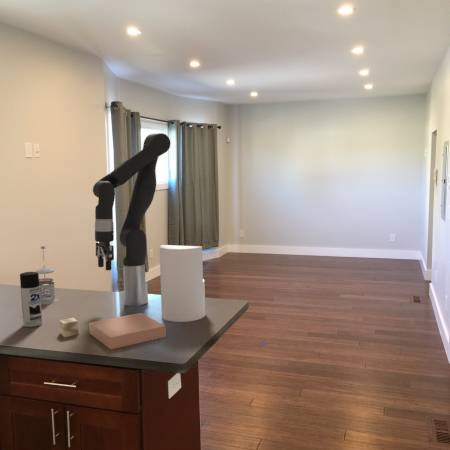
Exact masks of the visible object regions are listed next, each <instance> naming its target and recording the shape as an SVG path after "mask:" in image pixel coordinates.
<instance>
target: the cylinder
mask: <svg viewBox="0 0 450 450" xmlns="http://www.w3.org/2000/svg"><path fill="white" fill-rule="evenodd" d="M203 264H204V261H203V246H201V245H200V246H198V245H175V244H173V245H172V244H161V245H159V272H160V274H159V275H160V299H161V301H160V302H161V318H162V319H163V320H165V321H167V322H168V321H169V322H175V323H183V322H184V323H185V322H186V323H187V322H193V321H194V322H195V321H197V320H201V319H203V318H205V316H206V292H205V289H206V288H205V285H206V284H205V279H204V270H203V267H204V266H203Z"/></svg>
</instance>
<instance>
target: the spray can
mask: <svg viewBox="0 0 450 450" xmlns="http://www.w3.org/2000/svg"><path fill="white" fill-rule="evenodd" d="M39 276H40V275H39V274H38V272H35V271H26V272H21V273H20V274H19V280H20V281H19V284H20V296H21V299H20V300H21V307H22V308H21V309H22V310H21V311H22V321H23V322H22V324H23V326H24V327H25V328H35V327H39V326H41V325H43V320H42V319H43V317H42V304H41V300H40V286H39V279H40V277H39Z"/></svg>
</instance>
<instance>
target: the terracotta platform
mask: <svg viewBox="0 0 450 450" xmlns="http://www.w3.org/2000/svg"><path fill="white" fill-rule="evenodd" d="M88 325H89V326H88V329H89V330H88V331H89V334H90V335H91V336H92V337H94V338H95V339H96V340H97V341H99V342H100V343H102V344H103V345H105V346H106V347H107V348H108V349H110V350H115V349H118V348H124V347H129V346H133V345H136V344H141V343H145V342H149V341H150V340H151V341H154V339H155V340H158V338H159V339H162V338H163V337H164V338H166V337H167V336H166V335H167V333H166V325H164V324H162V323H161V322H159V321H157V320H156V319H154V318H152V317H149V316H148V315H146V314H145V313H141V312H138V313H133V314H128V315H127V314H126V315H122V316H116V317H112V318H105V319H100V320H95V321H90V322H88ZM164 338H163V339H164Z"/></svg>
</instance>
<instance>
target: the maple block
mask: <svg viewBox="0 0 450 450" xmlns="http://www.w3.org/2000/svg"><path fill="white" fill-rule="evenodd" d="M59 334H60V335H61V336H62V337H63V338H67V337H72V336H77V335H79V320H77V319H76V318H75V317H69V318H65V319H64V318H63V319H59Z"/></svg>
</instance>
